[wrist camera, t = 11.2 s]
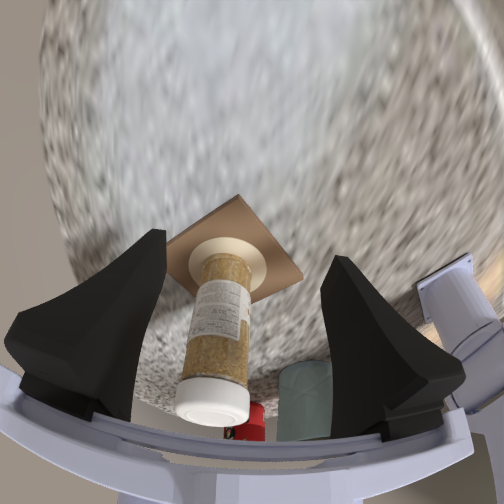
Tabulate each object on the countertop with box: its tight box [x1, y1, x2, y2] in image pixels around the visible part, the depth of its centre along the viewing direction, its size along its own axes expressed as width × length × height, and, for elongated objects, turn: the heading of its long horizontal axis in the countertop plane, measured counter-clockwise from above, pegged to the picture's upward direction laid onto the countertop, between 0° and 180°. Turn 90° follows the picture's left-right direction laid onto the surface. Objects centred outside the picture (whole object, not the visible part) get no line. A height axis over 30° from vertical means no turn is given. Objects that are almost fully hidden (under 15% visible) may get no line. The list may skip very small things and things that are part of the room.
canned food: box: [223, 401, 265, 442], centre depth 44 cm, size 8×8×11 cm
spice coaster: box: [166, 194, 303, 304], centre depth 25 cm, size 10×10×1 cm
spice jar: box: [174, 253, 252, 427], centre depth 19 cm, size 5×5×14 cm
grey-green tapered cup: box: [276, 360, 333, 442], centre depth 34 cm, size 10×10×12 cm
